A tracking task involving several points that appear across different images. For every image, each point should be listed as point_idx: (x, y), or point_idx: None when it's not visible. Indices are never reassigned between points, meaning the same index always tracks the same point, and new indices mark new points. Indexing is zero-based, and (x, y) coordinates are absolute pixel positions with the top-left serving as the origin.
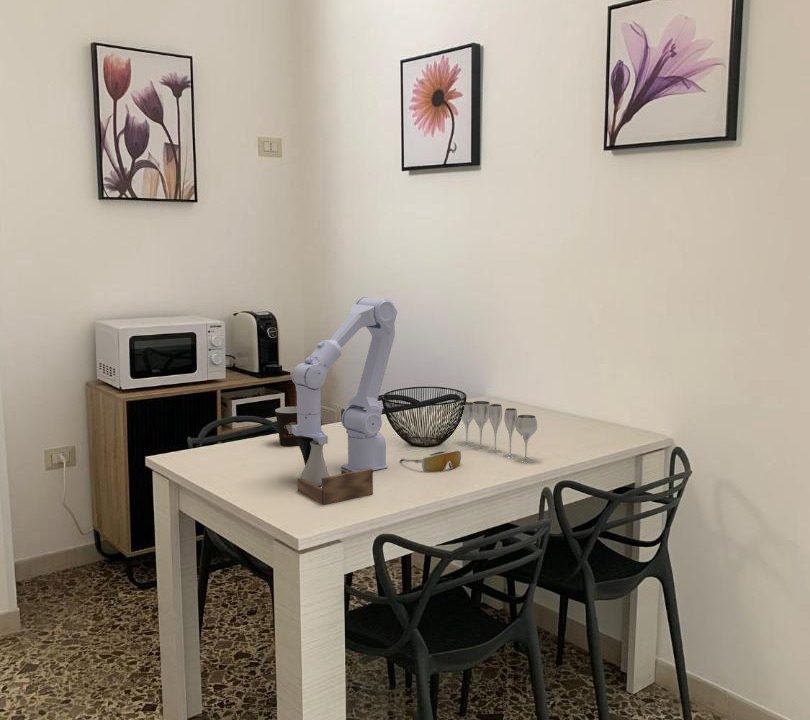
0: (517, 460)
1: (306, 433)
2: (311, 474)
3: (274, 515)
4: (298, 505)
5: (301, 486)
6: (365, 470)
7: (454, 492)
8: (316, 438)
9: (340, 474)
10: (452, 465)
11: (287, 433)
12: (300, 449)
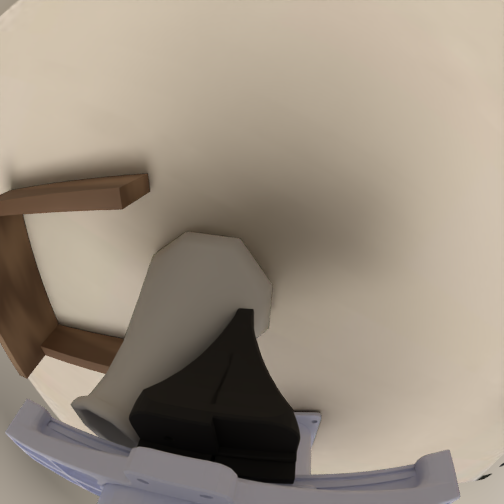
0: None
1: (92, 475)
2: (154, 276)
3: (8, 37)
4: (27, 117)
5: (102, 182)
6: (10, 358)
7: (55, 405)
8: (36, 432)
9: None
10: None
11: None
12: (265, 371)
